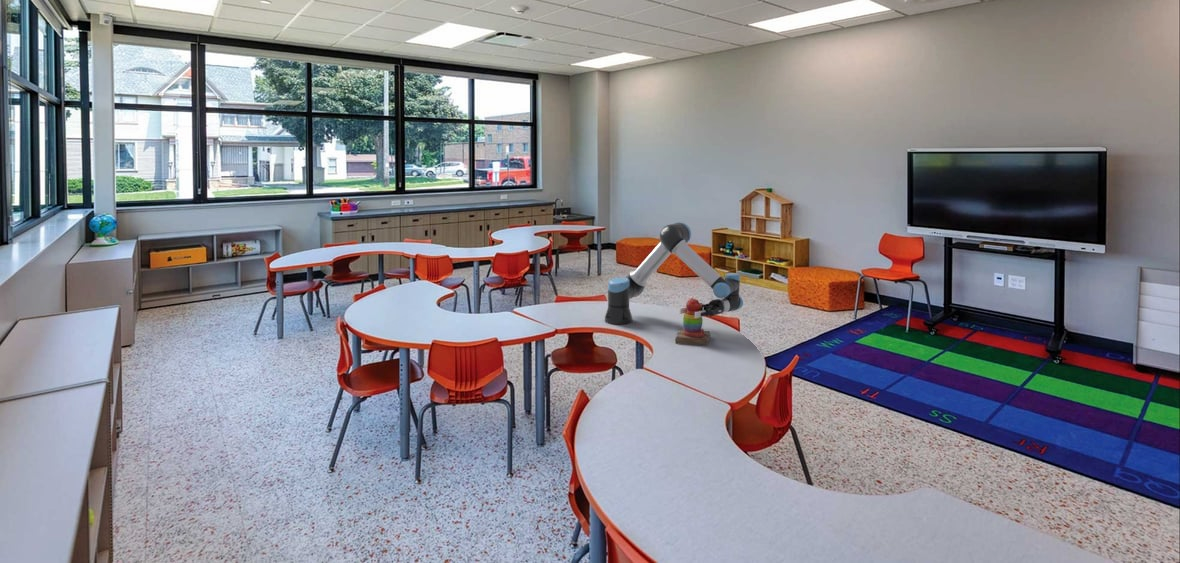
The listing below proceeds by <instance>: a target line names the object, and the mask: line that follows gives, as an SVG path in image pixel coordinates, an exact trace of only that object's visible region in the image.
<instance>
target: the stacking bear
mask: <svg viewBox="0 0 1180 563" xmlns="http://www.w3.org/2000/svg"><path fill="white" fill-rule="evenodd" d="M700 303H701V302H699V300H698V299H696V298H693V297H691V298H690V299H688V300H687V301H686V305H685V307H686V306H687V311H686V312H685V313H683V314H684V315H683V320H682V325H683V329H685V330H684V335H686V336H690V337H703V336H704V334H703V333H704V331H705V330H704V329H703V328H702V326H703V317H699V318H695V312H699V310H700V309H701V307H702V305H701V304H700Z"/></svg>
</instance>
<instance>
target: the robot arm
mask: <svg viewBox="0 0 1180 563" xmlns="http://www.w3.org/2000/svg"><path fill="white" fill-rule="evenodd" d="M691 237H692V230H691V227H689V226H688V224H686V223H684V222H679V221H678V222H675V223H672V224H667V225H665V226H663V227H662V229H661V230H660V233H659V240H660V242H659V243H657V245H656V246H655V247H654V248H653V249H652V251H651V252H650V253H649V254H648V256H646V258H645V259H644V260H643V261H642V262H641V264H639V265H638V267H637V268H636V269H635V270H631V271H629V273H628V274H627V275H626V277H620V276H619V277H618V276H617V277H614V278H613V277H612V278H611V279H610V280H609V281H608V285H607V310H606V312H605V315H604V322H605V321H606V322H605V323H607V322H608V324H610V323H611V325H628V324H631V323H632V322H633V315H632V312H631V309H630V299H633V298H636V297H638V296H641V294H642V293H643V292H644V290H645V287H646V286H647V285H648V282H647V281H648V280H649V279H650V277H651V276H652V275H653V274H654V273H655V272H656V271H658V269H659V267H660V266H662V264H663V263H664V262H665V261H666V260H667V259H668V257H670V255H671V254H672V255H676V257H677V258H679V259H680V260H681V261H682V262H683V263H684V264H685V265H686V266H687V267H688V268H690V270H692V271H693V272H694V274H695V275H697V276H698V277H699V278H700V279H701V280H702V281H703V282H704V283H705V284H707V285H708V287H710V288H711V289H712V292H713V295H714V296H715V297H716V299H712V300H710V301H709V303H705V304H704V303H702V302H699V303H700V304H701V305H702V307H701V309H700V310H699V312H695V318H699V317H702V318H703V317H713V316H717V315H723V314H725V313H728V312H735V311H737V310H740V309H741V308H742V307H743V306H744V301H743V297H742V296H741V295H740V286H741V285H740V284H741V283H740V282H741V275H740V274H738V273H737V272H736V273H734V272H728V273H725V275H724V278H723V277H722V275H720V273H718V272H717V271H716V270H715V269H714V268H713V267H712V266H711V265H709V264H708V263H707V262H706V261H705V260H704V259H703V258H702V257H701V255H699V254H698V253H697V252H695V250H693V248H691V247H690V246H689V245H688V244H687V243H688V242H689V241H690V239H691ZM686 311H687V306H686V305H685V306H684V307H679V315H682V314H685V312H686Z"/></svg>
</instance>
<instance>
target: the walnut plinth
mask: <svg viewBox="0 0 1180 563" xmlns="http://www.w3.org/2000/svg"><path fill="white" fill-rule="evenodd" d="M684 330H685V329H684V328H682V329H679V331H678V333H676V336H675V344H678V343H679V345H691V346H702V345H704V347H707V346H708V344H709V341H710V339H709V338H711V331H710V330H709V331H707V330H704V333H703V334H704V336H703V337H690V336H686V335H684ZM705 345H706V346H705Z"/></svg>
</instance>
